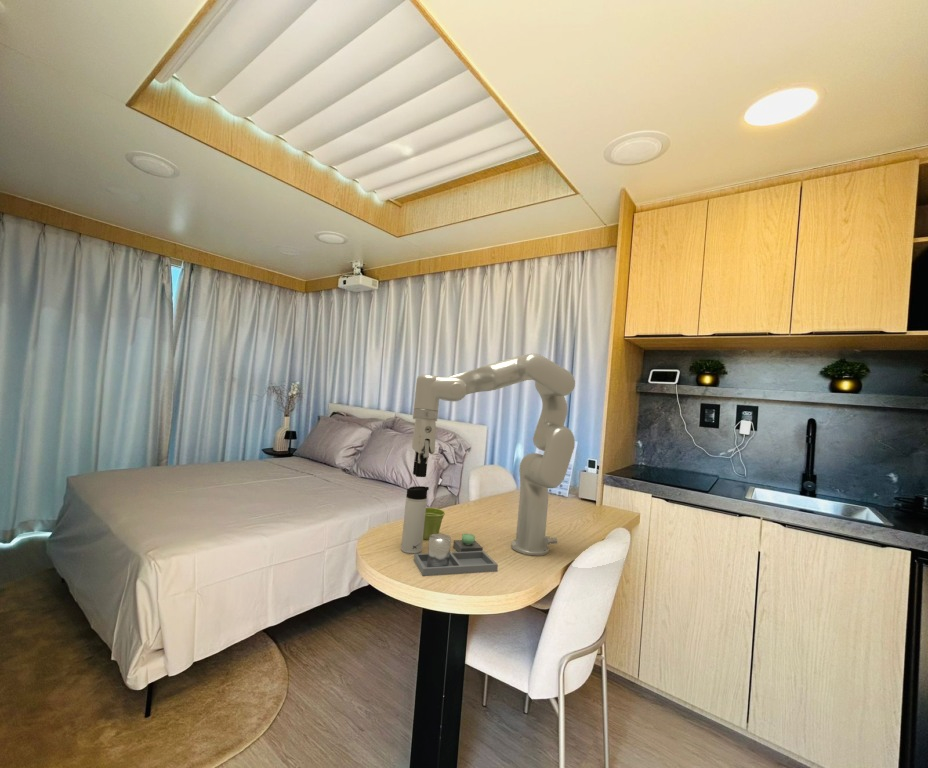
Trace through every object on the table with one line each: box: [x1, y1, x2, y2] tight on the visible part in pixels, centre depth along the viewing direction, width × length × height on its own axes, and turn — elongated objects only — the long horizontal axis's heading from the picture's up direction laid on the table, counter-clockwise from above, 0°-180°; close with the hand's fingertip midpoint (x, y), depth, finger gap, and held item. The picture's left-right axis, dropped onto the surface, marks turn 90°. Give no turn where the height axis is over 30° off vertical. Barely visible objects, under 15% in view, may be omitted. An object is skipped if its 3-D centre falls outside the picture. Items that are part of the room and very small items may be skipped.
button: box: [461, 533, 476, 545], centre depth 124 cm, size 4×4×5 cm
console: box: [452, 539, 484, 552], centre depth 124 cm, size 7×7×3 cm
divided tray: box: [413, 550, 499, 577], centre depth 112 cm, size 21×10×3 cm, turn 110°
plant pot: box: [423, 507, 446, 541], centre depth 136 cm, size 9×9×9 cm
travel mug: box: [400, 485, 430, 555], centre depth 121 cm, size 6×7×20 cm
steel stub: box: [427, 533, 452, 567], centre depth 110 cm, size 6×6×8 cm
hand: (419, 475), depth 122 cm, fingers closed
